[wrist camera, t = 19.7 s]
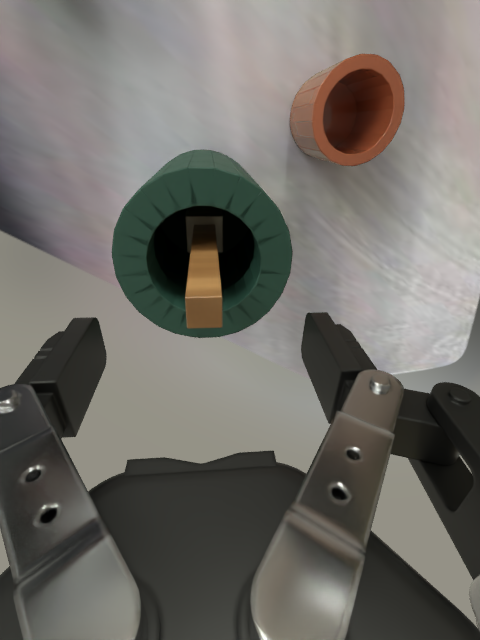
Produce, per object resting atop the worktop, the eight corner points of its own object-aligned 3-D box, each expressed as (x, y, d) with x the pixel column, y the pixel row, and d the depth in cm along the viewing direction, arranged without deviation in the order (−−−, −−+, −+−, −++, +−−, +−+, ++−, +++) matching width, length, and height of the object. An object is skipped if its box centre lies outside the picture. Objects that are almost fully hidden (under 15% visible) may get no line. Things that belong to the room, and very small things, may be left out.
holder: (294, 68, 26) (319, 51, 20) (370, 72, 27) (417, 56, 21) (286, 157, 30) (306, 165, 24) (354, 158, 30) (390, 166, 24)
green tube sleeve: (144, 148, 28) (94, 165, 16) (260, 150, 29) (302, 169, 17) (157, 259, 34) (127, 340, 21) (254, 258, 35) (283, 335, 22)
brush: (189, 196, 30) (169, 284, 13) (219, 196, 30) (236, 283, 13) (191, 225, 32) (174, 340, 15) (219, 225, 32) (235, 338, 15)
